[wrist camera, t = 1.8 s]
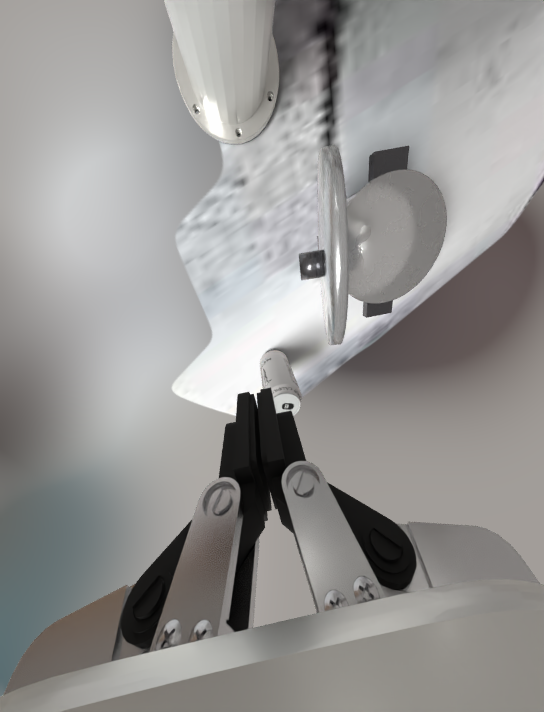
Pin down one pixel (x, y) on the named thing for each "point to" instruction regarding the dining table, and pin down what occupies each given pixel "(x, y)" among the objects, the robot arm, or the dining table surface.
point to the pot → (392, 231)
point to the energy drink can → (280, 381)
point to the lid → (330, 244)
